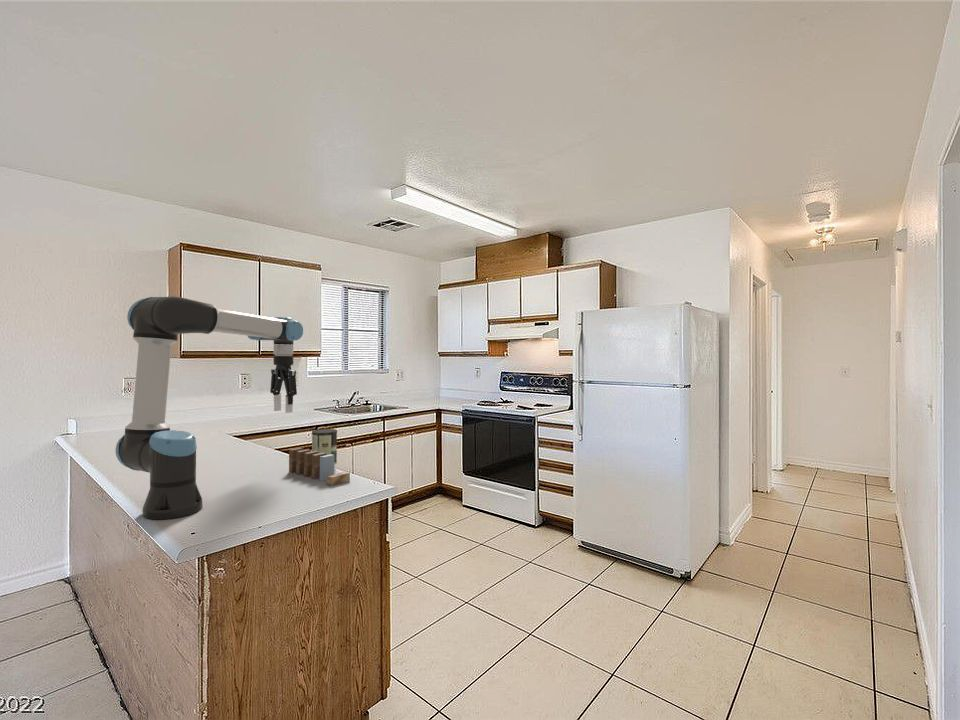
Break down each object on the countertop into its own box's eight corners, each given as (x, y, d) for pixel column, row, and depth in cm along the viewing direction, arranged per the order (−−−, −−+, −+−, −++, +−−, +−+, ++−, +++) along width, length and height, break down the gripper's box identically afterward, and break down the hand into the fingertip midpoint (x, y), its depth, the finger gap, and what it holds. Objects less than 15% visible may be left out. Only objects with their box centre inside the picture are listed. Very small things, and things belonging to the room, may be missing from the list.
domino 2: (310, 472, 192) (310, 449, 192) (299, 475, 188) (299, 451, 188) (307, 471, 193) (307, 449, 193) (296, 474, 189) (296, 451, 189)
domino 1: (303, 470, 195) (303, 448, 195) (292, 473, 191) (292, 450, 190) (300, 469, 196) (300, 447, 196) (288, 472, 192) (289, 449, 192)
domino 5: (334, 478, 184) (334, 454, 184) (323, 481, 180) (323, 457, 180) (330, 477, 185) (331, 454, 185) (319, 480, 181) (320, 456, 181)
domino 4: (326, 476, 187) (326, 453, 186) (315, 479, 182) (315, 455, 182) (322, 475, 188) (323, 452, 187) (311, 478, 184) (311, 454, 183)
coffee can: (328, 459, 214) (329, 427, 214) (341, 463, 207) (341, 430, 207) (306, 463, 207) (307, 430, 206) (319, 467, 199) (319, 433, 199)
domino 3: (318, 474, 189) (318, 451, 189) (307, 477, 185) (307, 453, 185) (314, 473, 190) (315, 450, 190) (303, 476, 186) (304, 452, 186)
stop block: (332, 485, 175) (332, 477, 174) (326, 484, 176) (326, 475, 176) (349, 480, 181) (349, 472, 181) (344, 479, 183) (344, 471, 183)
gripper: (306, 355, 195) (306, 412, 195) (277, 354, 206) (277, 408, 207) (290, 356, 188) (289, 414, 189) (260, 354, 200) (260, 410, 200)
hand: (283, 411), depth 198 cm, fingers open, 7 cm apart
